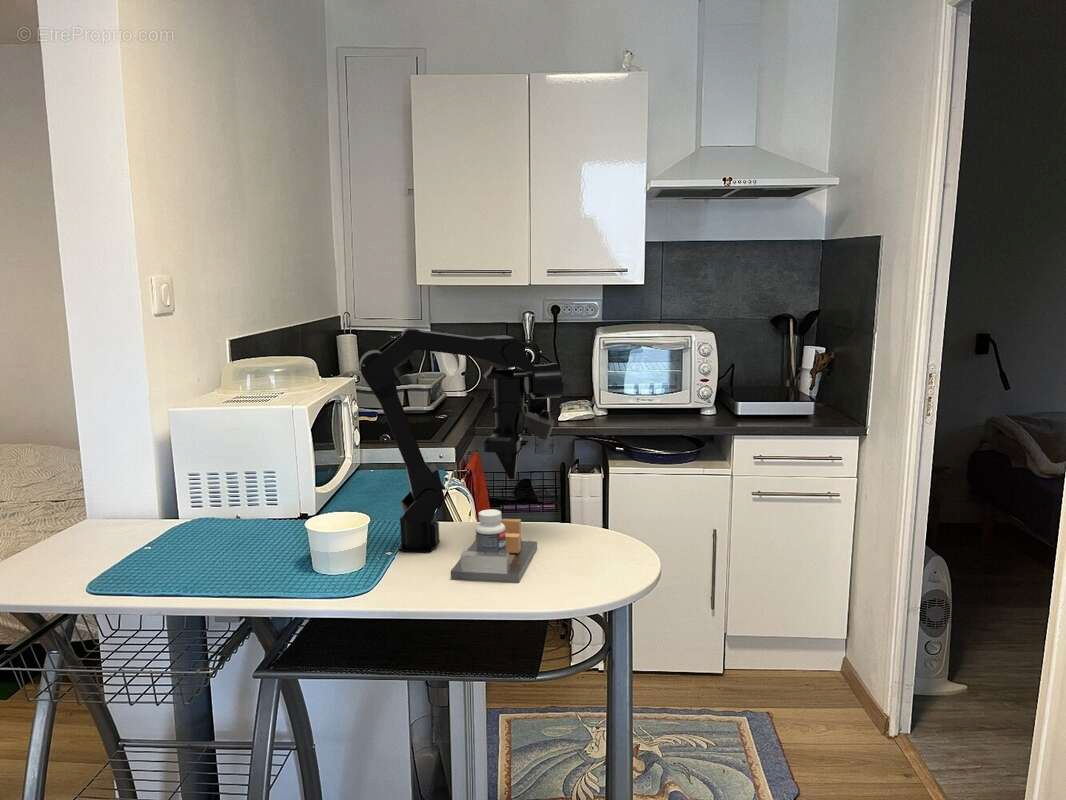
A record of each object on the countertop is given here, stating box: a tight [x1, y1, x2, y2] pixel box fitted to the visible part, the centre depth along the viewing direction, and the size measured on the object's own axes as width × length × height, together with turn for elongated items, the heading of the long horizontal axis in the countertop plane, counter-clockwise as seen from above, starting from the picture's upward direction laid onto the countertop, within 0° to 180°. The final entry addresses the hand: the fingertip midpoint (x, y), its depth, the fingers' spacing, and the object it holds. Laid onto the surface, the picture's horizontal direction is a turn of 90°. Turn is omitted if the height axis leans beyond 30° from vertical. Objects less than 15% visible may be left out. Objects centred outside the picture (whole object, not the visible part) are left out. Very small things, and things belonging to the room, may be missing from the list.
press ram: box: [474, 518, 523, 553], centre depth 148 cm, size 8×8×4 cm
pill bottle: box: [475, 508, 506, 553], centre depth 140 cm, size 5×5×9 cm
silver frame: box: [450, 540, 538, 584], centre depth 144 cm, size 12×17×4 cm
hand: (511, 478), depth 157 cm, fingers closed
